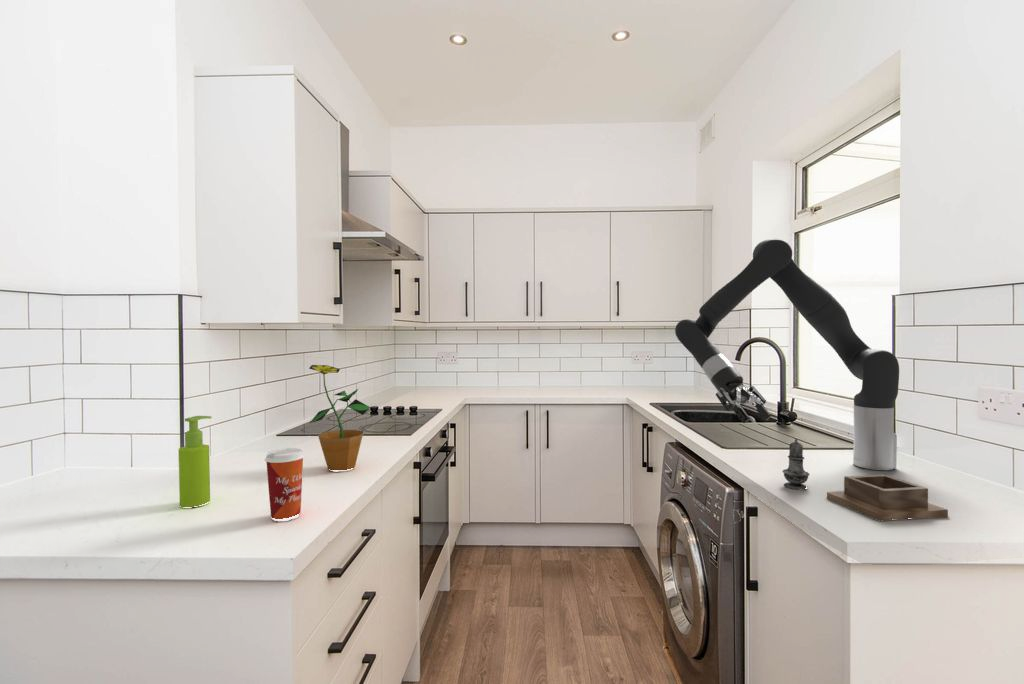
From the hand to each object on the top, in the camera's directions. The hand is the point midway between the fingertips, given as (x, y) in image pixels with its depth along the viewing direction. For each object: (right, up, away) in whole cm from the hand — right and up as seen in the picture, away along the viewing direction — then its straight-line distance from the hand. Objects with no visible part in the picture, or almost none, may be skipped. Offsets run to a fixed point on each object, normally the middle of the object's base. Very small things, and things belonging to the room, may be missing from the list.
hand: (757, 419), depth 133 cm
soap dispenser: (-138, -17, -19) cm, 140 cm away
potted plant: (-114, -16, +9) cm, 116 cm away
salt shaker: (+5, -15, -9) cm, 19 cm away
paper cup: (-114, -17, -27) cm, 118 cm away
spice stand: (+16, -15, -24) cm, 33 cm away
